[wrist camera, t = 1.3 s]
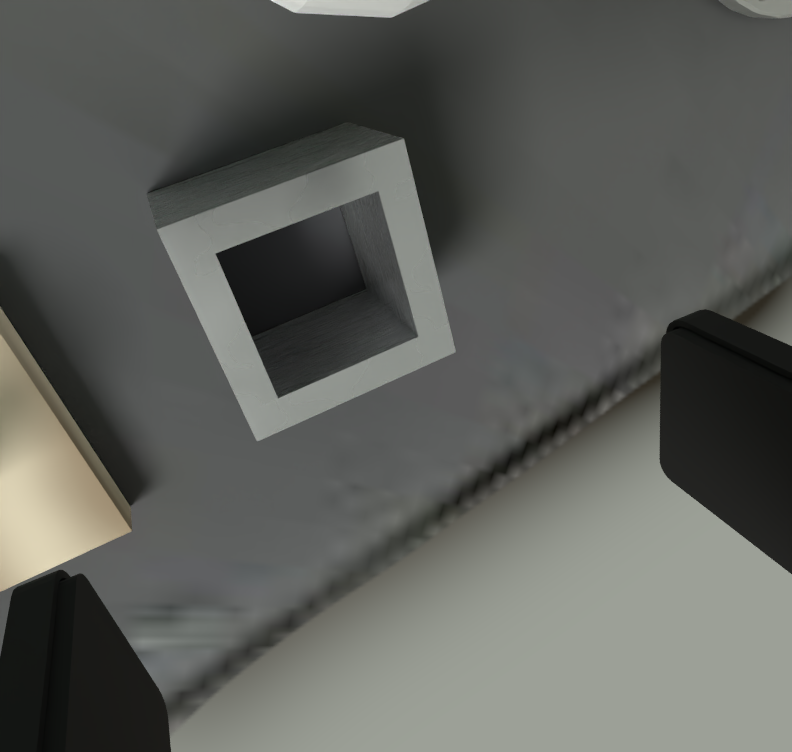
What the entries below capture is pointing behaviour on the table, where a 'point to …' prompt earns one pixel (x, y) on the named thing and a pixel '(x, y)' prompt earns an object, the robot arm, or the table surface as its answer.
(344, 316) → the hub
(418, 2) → the cup
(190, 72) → the table surface
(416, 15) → the table surface
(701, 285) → the table surface
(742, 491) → the robot arm
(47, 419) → the post block
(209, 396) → the table surface
